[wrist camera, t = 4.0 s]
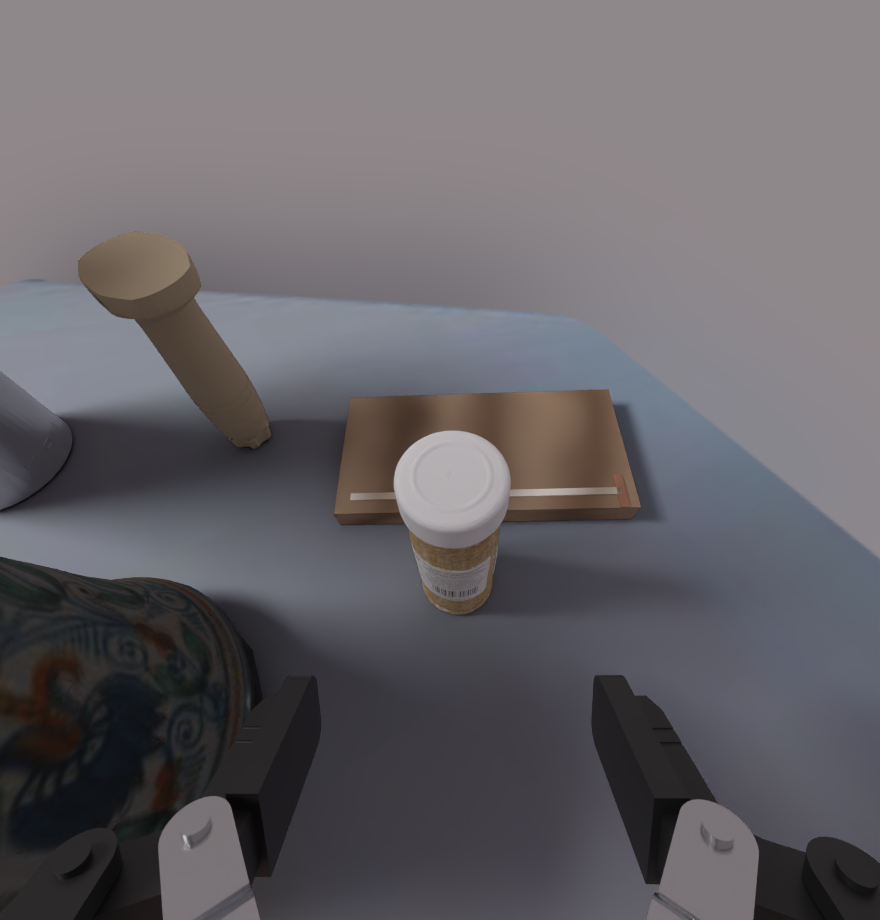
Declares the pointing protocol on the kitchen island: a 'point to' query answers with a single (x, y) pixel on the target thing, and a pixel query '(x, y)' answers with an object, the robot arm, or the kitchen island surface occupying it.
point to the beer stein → (108, 707)
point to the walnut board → (515, 436)
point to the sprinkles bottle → (454, 515)
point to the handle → (176, 326)
